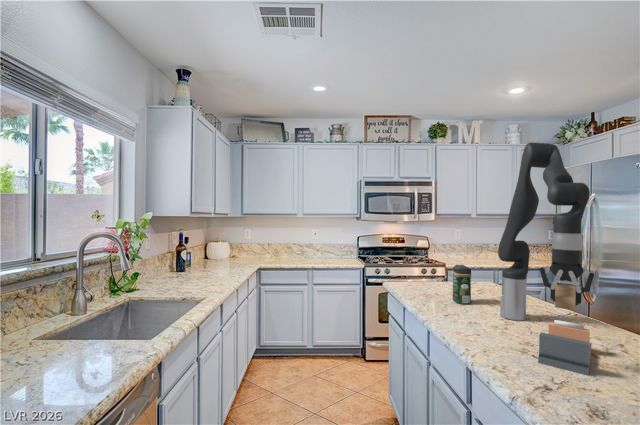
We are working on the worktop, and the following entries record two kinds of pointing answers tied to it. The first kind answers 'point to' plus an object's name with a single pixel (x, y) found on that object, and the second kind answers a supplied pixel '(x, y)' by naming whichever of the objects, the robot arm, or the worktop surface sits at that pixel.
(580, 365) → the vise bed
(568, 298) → the walnut block
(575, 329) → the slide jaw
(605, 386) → the worktop surface
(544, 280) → the robot arm
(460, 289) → the coffee jar
